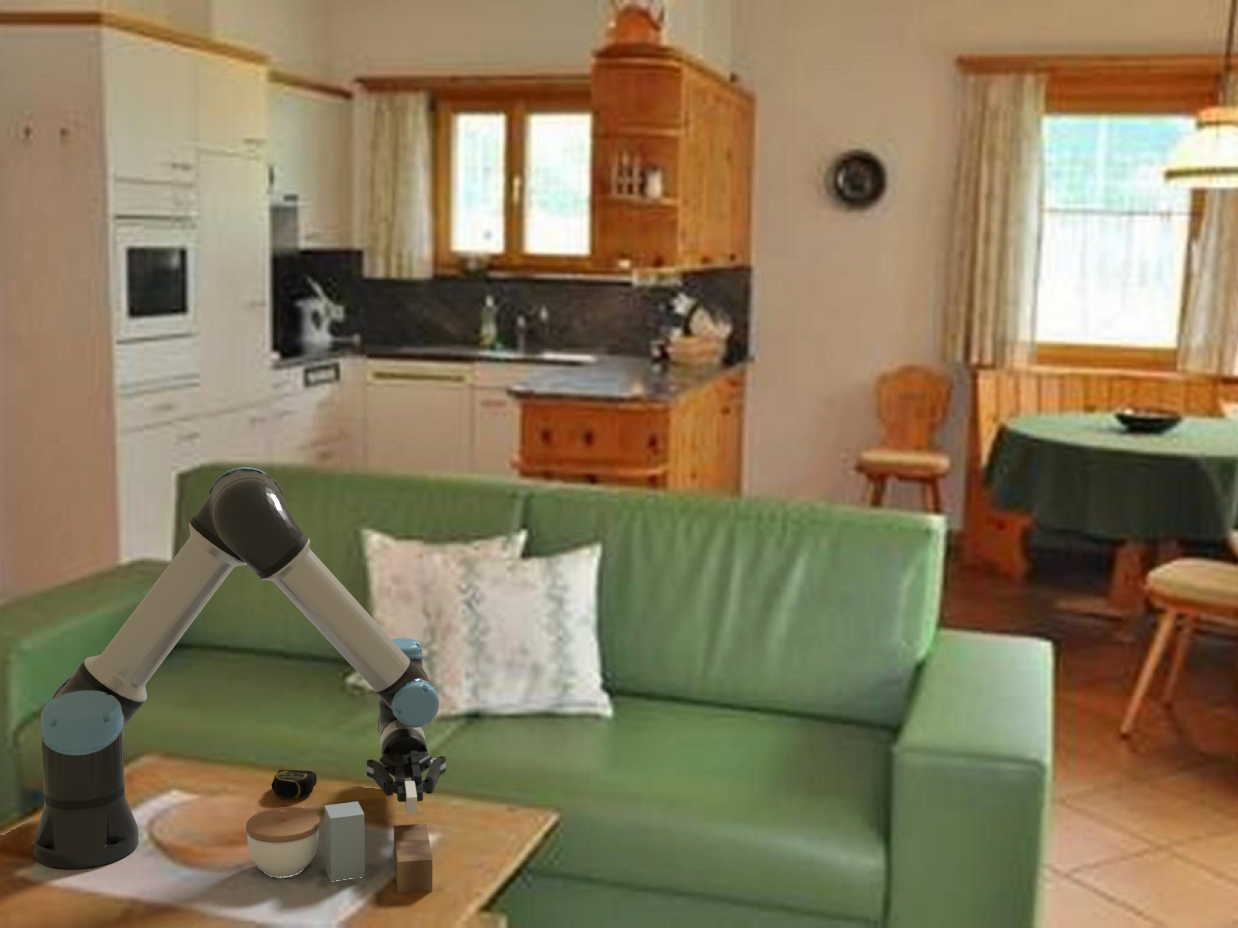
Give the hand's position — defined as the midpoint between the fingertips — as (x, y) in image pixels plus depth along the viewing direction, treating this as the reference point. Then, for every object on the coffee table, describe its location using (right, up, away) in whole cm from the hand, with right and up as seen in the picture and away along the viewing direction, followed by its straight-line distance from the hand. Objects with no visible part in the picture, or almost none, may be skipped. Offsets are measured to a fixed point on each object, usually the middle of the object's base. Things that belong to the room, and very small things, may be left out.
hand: (412, 805), depth 212 cm
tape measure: (-25, -5, +29) cm, 38 cm away
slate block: (-10, -10, 0) cm, 14 cm away
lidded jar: (-19, -10, 0) cm, 22 cm away
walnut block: (-1, -7, +6) cm, 9 cm away
